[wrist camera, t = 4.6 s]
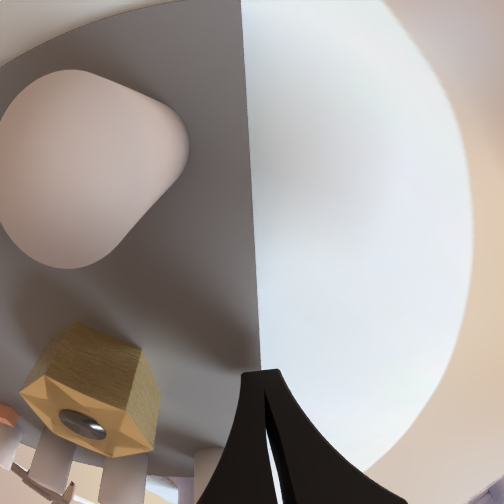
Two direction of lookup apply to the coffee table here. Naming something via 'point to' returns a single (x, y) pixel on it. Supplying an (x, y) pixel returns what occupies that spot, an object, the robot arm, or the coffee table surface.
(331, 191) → the coffee table surface
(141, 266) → the plate
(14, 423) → the parts bay
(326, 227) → the coffee table surface
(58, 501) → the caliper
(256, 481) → the robot arm
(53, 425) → the brass nut
